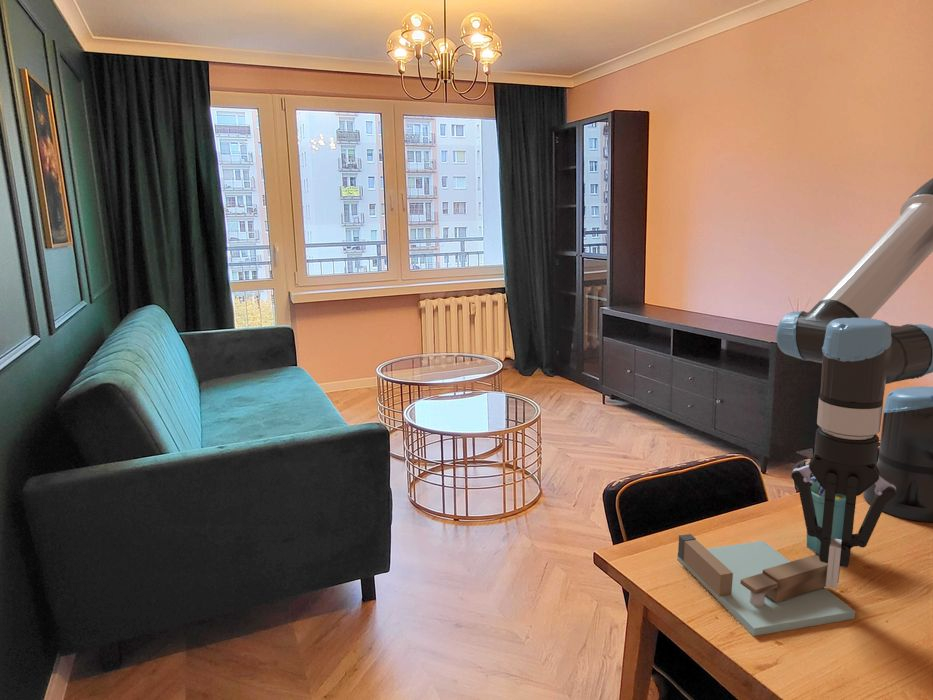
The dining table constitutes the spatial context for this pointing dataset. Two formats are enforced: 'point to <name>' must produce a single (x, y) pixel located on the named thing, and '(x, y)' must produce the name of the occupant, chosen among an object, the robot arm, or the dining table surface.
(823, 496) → the cup
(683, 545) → the stool seat
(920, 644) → the dining table surface
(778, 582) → the leg
